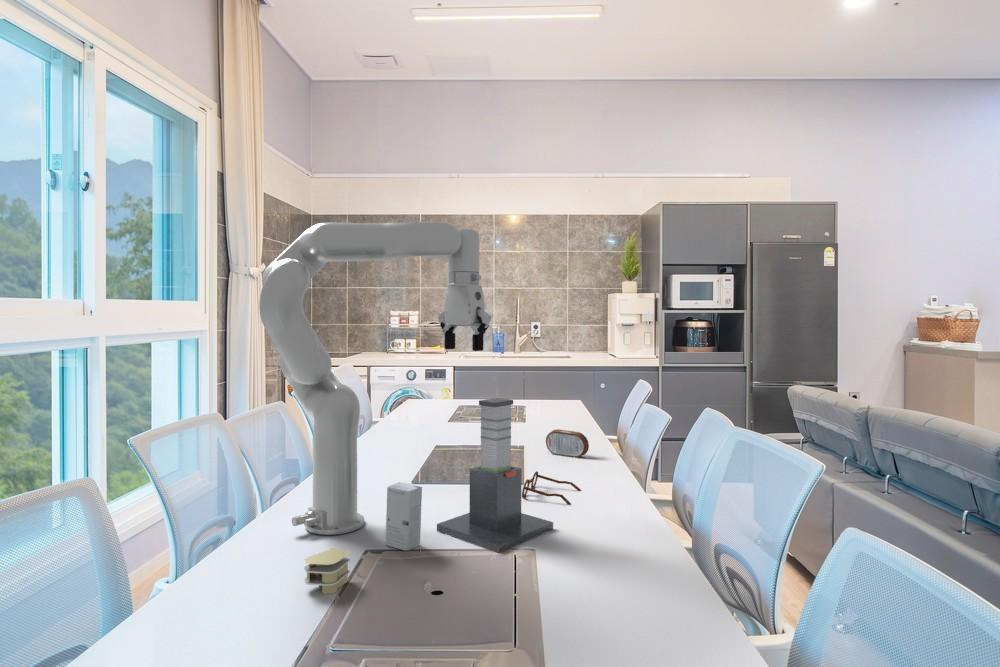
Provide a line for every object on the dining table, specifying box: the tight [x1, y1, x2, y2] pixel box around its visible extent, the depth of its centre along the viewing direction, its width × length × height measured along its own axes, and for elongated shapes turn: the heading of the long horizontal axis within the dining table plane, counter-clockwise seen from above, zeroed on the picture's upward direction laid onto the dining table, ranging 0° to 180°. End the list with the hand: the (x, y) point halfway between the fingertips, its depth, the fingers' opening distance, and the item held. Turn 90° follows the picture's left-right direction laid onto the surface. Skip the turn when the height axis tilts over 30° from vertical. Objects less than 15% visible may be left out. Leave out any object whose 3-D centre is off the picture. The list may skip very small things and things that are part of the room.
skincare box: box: [385, 481, 423, 552], centre depth 122 cm, size 6×4×12 cm
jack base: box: [436, 465, 554, 553], centre depth 131 cm, size 18×18×14 cm
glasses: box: [521, 471, 582, 505], centre depth 157 cm, size 13×13×5 cm
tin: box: [545, 428, 590, 459], centre depth 201 cm, size 15×3×8 cm, turn 58°
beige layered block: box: [304, 547, 351, 595], centre depth 103 cm, size 10×9×6 cm
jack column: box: [478, 397, 514, 474], centre depth 131 cm, size 6×5×21 cm
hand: (463, 349), depth 148 cm, fingers open, 9 cm apart
